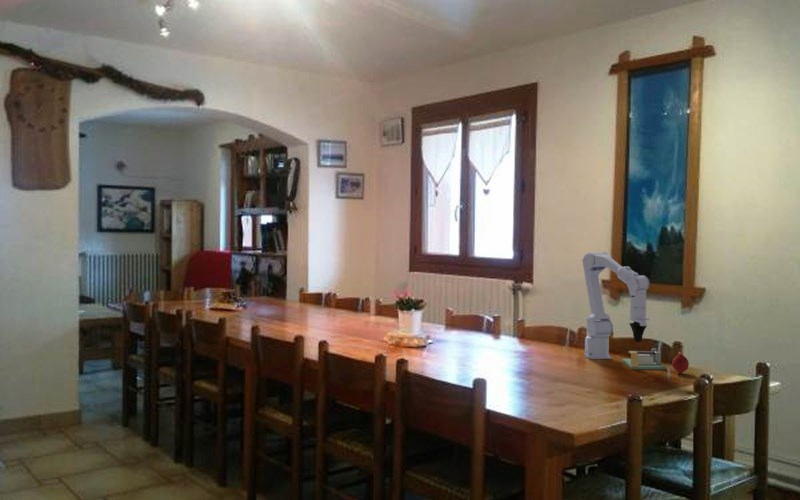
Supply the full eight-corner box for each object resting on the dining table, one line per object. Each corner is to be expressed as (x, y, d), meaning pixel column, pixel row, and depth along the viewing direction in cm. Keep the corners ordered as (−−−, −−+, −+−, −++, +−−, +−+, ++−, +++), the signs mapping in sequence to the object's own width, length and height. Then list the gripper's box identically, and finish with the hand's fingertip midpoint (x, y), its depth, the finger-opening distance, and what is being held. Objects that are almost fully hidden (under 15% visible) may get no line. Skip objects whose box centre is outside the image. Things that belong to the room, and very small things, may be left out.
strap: (630, 354, 267) (630, 352, 267) (627, 352, 271) (627, 349, 271) (659, 355, 266) (659, 352, 266) (655, 353, 270) (655, 350, 270)
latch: (632, 366, 262) (632, 353, 262) (629, 364, 266) (629, 351, 266) (638, 366, 262) (638, 353, 261) (635, 364, 266) (635, 351, 266)
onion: (688, 372, 256) (689, 351, 256) (688, 376, 251) (688, 354, 251) (672, 371, 259) (672, 350, 258) (671, 374, 254) (671, 353, 253)
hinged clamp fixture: (631, 369, 262) (631, 354, 262) (621, 361, 276) (622, 346, 276) (665, 369, 261) (665, 354, 261) (654, 361, 275) (654, 346, 275)
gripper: (654, 309, 255) (654, 345, 256) (643, 304, 269) (642, 338, 270) (635, 309, 255) (635, 345, 256) (625, 304, 270) (624, 338, 270)
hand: (637, 341), depth 263 cm, fingers closed
